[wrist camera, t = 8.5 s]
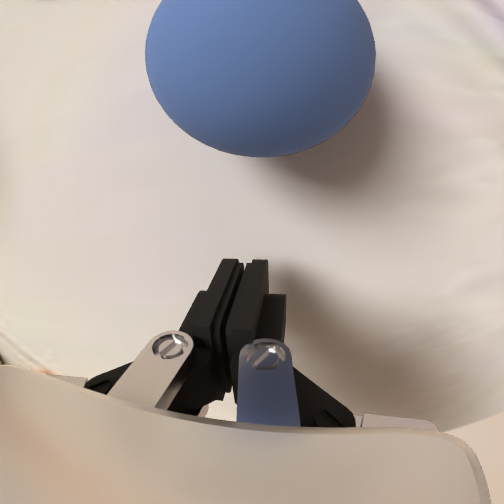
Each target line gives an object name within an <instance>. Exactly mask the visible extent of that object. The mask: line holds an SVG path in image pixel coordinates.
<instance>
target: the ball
mask: <svg viewBox="0 0 504 504" xmlns="http://www.w3.org/2000/svg"><path fill="white" fill-rule="evenodd" d="M375 57H376V52H375V42H374V37H373V33H372V30H371V26H370V23H369V21H368V18H367V16H366V14H365V12H364V10H363V9H362V7H361V5H360V4H359V2H358V1H357V0H162V2H161V3H160V5H159V6H158V8H157V10H156V12H155V14H154V16H153V18H152V21H151V24H150V27H149V30H148V34H147V39H146V48H145V61H146V70H147V74H148V78H149V81H150V84H151V88H152V90H153V92H154V94H155V97H156V99H157V100H158V102H159V103H160V105H161V106H162V108H163V109H164V111H165V112H166V114H167V115H168V116H169V117H170V118H171V119H172V120H173V121H174V123H175V124H177V125H178V126H179V127H180V128H181V129H182V130H184V131H185V132H186V133H187V134H189V135H190V136H191V137H193V138H195V139H197V140H198V141H200V142H202V143H204V144H206V145H208V146H210V147H213V148H215V149H217V150H220V151H223V152H227V153H231V154H235V155H242V156H249V157H276V156H284V155H288V154H293V153H297V152H300V151H303V150H305V149H308V148H311V147H313V146H315V145H317V144H319V143H321V142H323V141H325V140H326V139H328V138H329V137H331V136H332V135H334V134H336V133H337V132H338V131H339V130H340V129H341V128H343V127H344V126H345V125H346V124H347V123H348V122H349V121H350V120H351V118H352V117H353V116H354V115H355V114H356V113H357V111H358V109H359V108H360V106H361V105H362V103H363V102H364V100H365V98H366V96H367V93H368V91H369V89H370V87H371V83H372V79H373V76H374V69H375Z"/></svg>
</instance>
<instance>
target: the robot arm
mask: <svg viewBox="0 0 504 504" xmlns="http://www.w3.org/2000/svg"><path fill="white" fill-rule="evenodd" d="M285 323H286V295H285V294H269V281H268V260H255V259H253V260H252V263H247V265H246V267H245V270H244V264H243V263H239V261H238V259H223V260H222V261H221V263H220V265H219V267H218V269H217V271H216V273H215V275H214V277H213V280H212V282H211V284H210V286H209V288H208V290H207V291H199V293H198V294H197V296H196V298H195V300H194V302H193V304H192V306H191V308H190V310H189V312H188V314H187V315H186V317H185V319H184V321H183V323H182V325H181V327H180V329H179V331H166V332H163V333H160V334H158V335H157V336H155V337H154V338H153V339H152V340H150V342H149V343H148V344H147V345H146V347H145V348H144V349H143V350H142V351H141V353H140V354H139V355H138V356H137V358H136V359H135V360H134V361H133V362H131V363H128V364H126V365H123V366H121V367H118V368H116V369H113V370H111V371H108V372H106V373H103V374H100V375H98V376H96V377H94V378H92V379H90V380H88V379H87V378H83V377H71V376H61V375H52V374H43V373H40V372H37V371H34V370H31V369H28V368H24V367H20V366H14V365H2V362H1V360H0V504H491V500H490V494H489V490H488V486H487V482H486V479H485V475H484V473H483V470H482V467H481V465H480V462H479V460H478V458H477V456H476V454H475V453H474V451H473V450H472V448H470V447H469V445H468V444H467V443H465V442H464V441H462V440H461V439H459V438H457V437H454V436H452V435H449V434H446V433H442V432H440V431H439V429H438V428H437V426H436V425H435V424H433V423H432V422H430V421H427V420H423V419H412V418H401V417H392V416H383V415H376V414H369V413H364V415H363V416H359V415H353V413H352V412H351V411H350V410H349V409H348V408H347V407H345V406H344V405H342V404H341V403H340V402H338V401H337V400H336V399H334V398H333V397H332V396H330V395H329V394H328V393H326V392H325V391H324V390H322V389H321V388H320V387H319V386H317V385H316V384H315V383H313V382H312V381H311V380H309V379H308V378H307V377H306V376H304V375H303V374H302V373H300V372H299V371H298V370H297V369H295V368H294V367H293V365H292V358H291V353H290V350H289V348H288V347H287V346H286V345H285V344H284V336H285ZM232 386H233V393H234V399H235V403H236V404H237V422H233V421H225V420H218V419H211V418H205V416H206V414H207V412H208V408H209V405H208V404H209V403H211V402H213V401H215V400H220V401H223V399H224V395H225V392H226V393H230V392H231V388H232Z"/></svg>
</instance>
